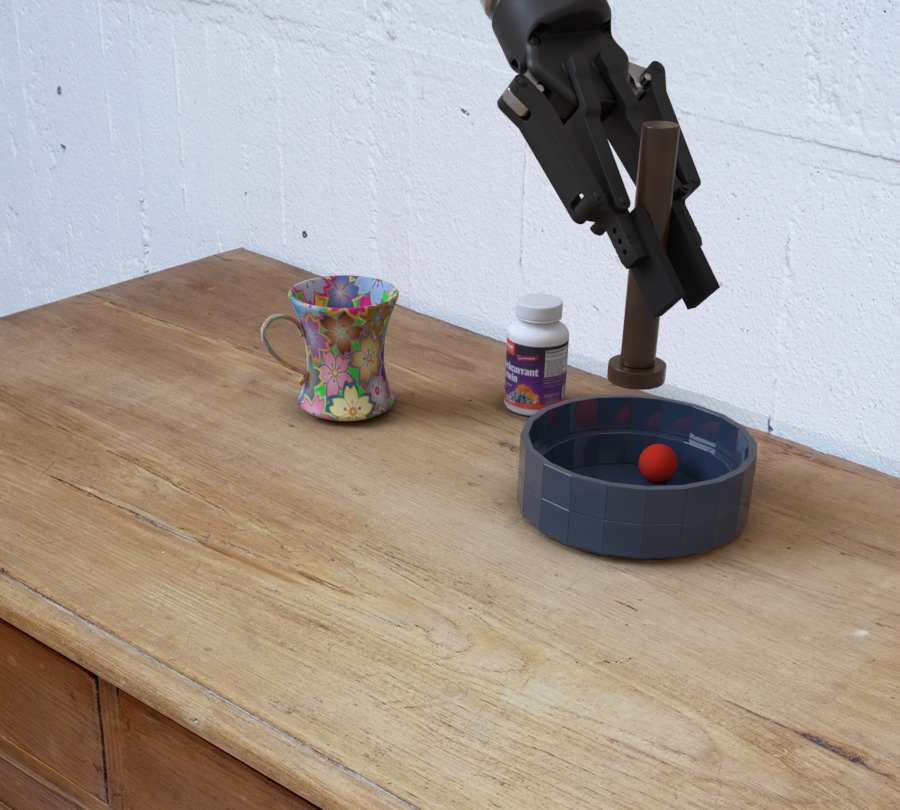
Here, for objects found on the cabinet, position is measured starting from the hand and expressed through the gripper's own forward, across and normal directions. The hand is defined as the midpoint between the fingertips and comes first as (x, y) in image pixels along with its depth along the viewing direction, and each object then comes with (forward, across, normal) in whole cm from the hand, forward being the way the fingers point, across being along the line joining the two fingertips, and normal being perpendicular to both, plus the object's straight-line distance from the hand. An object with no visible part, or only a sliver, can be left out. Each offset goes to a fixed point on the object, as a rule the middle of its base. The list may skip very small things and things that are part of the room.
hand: (686, 301), depth 85 cm
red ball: (+6, -7, -17) cm, 19 cm away
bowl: (+9, -3, -17) cm, 19 cm away
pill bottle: (-5, -10, -31) cm, 33 cm away
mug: (-11, +6, -38) cm, 40 cm away
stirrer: (+2, 0, -7) cm, 8 cm away
